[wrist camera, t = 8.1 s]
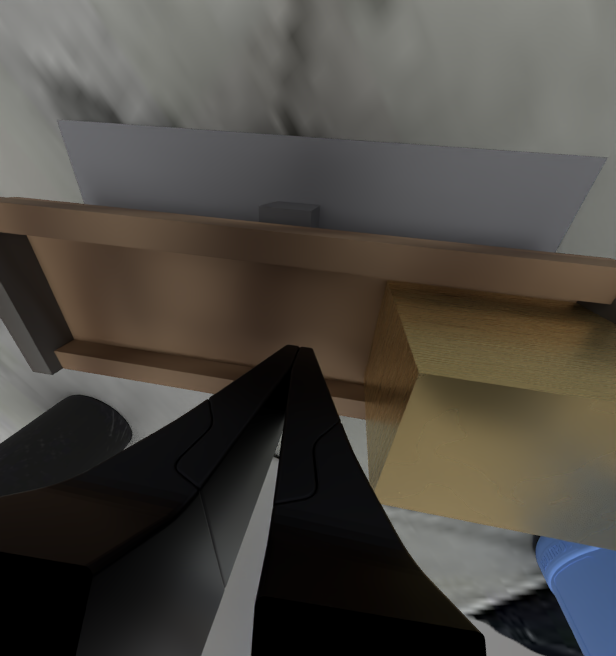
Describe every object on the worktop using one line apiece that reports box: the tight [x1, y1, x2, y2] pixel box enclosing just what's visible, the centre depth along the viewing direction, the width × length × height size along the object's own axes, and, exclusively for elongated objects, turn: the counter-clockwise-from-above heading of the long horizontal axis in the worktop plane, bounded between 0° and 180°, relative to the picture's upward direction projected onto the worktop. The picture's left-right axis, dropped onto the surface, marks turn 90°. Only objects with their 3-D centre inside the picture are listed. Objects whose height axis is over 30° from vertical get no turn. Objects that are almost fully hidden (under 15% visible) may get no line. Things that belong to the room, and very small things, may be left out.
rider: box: [364, 280, 616, 551], centre depth 8 cm, size 6×4×5 cm
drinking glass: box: [201, 457, 279, 656], centre depth 18 cm, size 7×7×15 cm
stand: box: [57, 120, 607, 253], centre depth 13 cm, size 23×13×4 cm, turn 86°
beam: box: [0, 197, 616, 420], centre depth 10 cm, size 22×7×2 cm, turn 86°
